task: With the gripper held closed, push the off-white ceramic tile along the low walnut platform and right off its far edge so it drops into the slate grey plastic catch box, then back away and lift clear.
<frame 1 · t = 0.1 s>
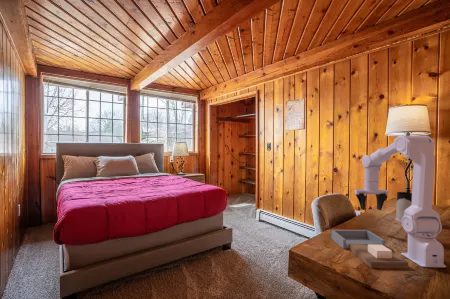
hand: (371, 209, 108), 10 cm above the table, fingers open, 7 cm apart
catch box: (356, 243, 94), on the table
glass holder: (406, 220, 125), on the table
tile: (379, 254, 80), point 2 cm above the table, touching platform
platform: (375, 257, 82), on the table
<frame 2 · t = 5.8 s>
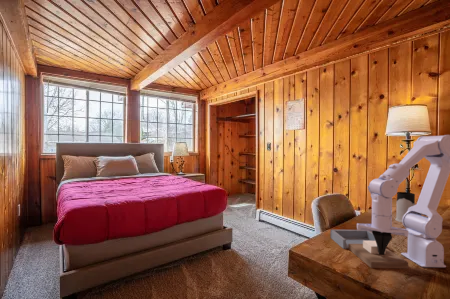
hand: (381, 253, 79), 3 cm above the table, fingers closed
tile: (373, 250, 83), point 2 cm above the table, touching gripper
everything else where it was.
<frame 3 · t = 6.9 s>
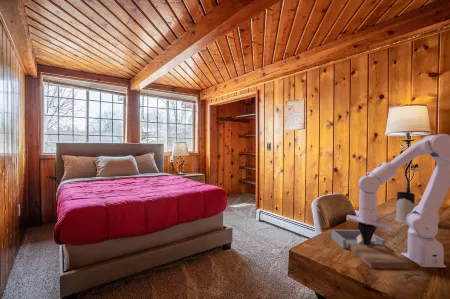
hand: (367, 243, 87), 3 cm above the table, fingers closed
tile: (366, 242, 90), point 2 cm above the table, tilted 37°
everything else where it was.
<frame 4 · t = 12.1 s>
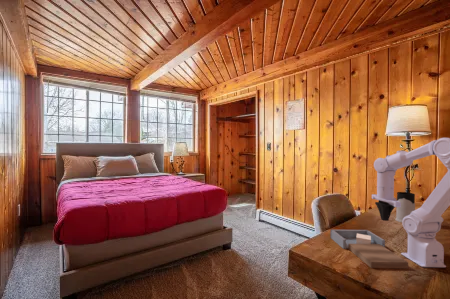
hand: (384, 220, 94), 9 cm above the table, fingers closed
tile: (363, 242, 94), resting on catch box
everything else where it was.
at the end: tile inside the target area on the catch box (2.9 cm from its centre), point 0.4 cm above the catch box's base; the gripper is holding nothing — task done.
